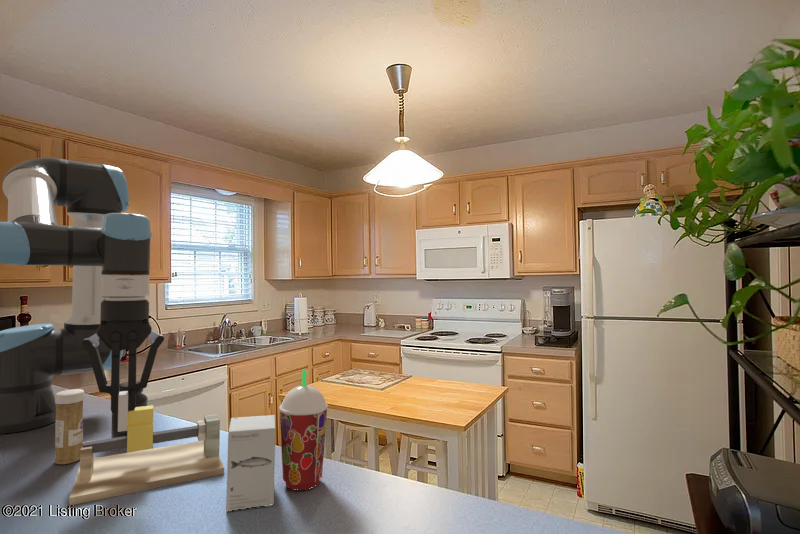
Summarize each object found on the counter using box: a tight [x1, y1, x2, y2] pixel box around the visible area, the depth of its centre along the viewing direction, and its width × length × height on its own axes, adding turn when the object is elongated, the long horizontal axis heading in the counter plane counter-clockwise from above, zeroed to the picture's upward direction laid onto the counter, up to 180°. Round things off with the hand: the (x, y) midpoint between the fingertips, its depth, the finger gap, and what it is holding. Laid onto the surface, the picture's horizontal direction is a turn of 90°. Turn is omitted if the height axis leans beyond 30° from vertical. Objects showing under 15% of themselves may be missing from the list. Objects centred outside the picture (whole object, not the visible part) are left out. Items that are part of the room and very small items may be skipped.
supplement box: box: [225, 414, 277, 513], centre depth 73 cm, size 7×7×13 cm
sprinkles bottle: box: [54, 388, 85, 465], centre depth 87 cm, size 5×5×14 cm
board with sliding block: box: [68, 413, 225, 506], centre depth 83 cm, size 16×23×8 cm
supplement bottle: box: [110, 380, 149, 438], centre depth 99 cm, size 7×7×12 cm
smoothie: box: [278, 369, 329, 491], centre depth 79 cm, size 8×8×20 cm
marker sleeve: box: [126, 404, 154, 453], centre depth 82 cm, size 4×4×7 cm
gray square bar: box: [83, 425, 198, 454], centre depth 83 cm, size 2×21×2 cm, turn 120°
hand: (122, 428), depth 81 cm, fingers closed
